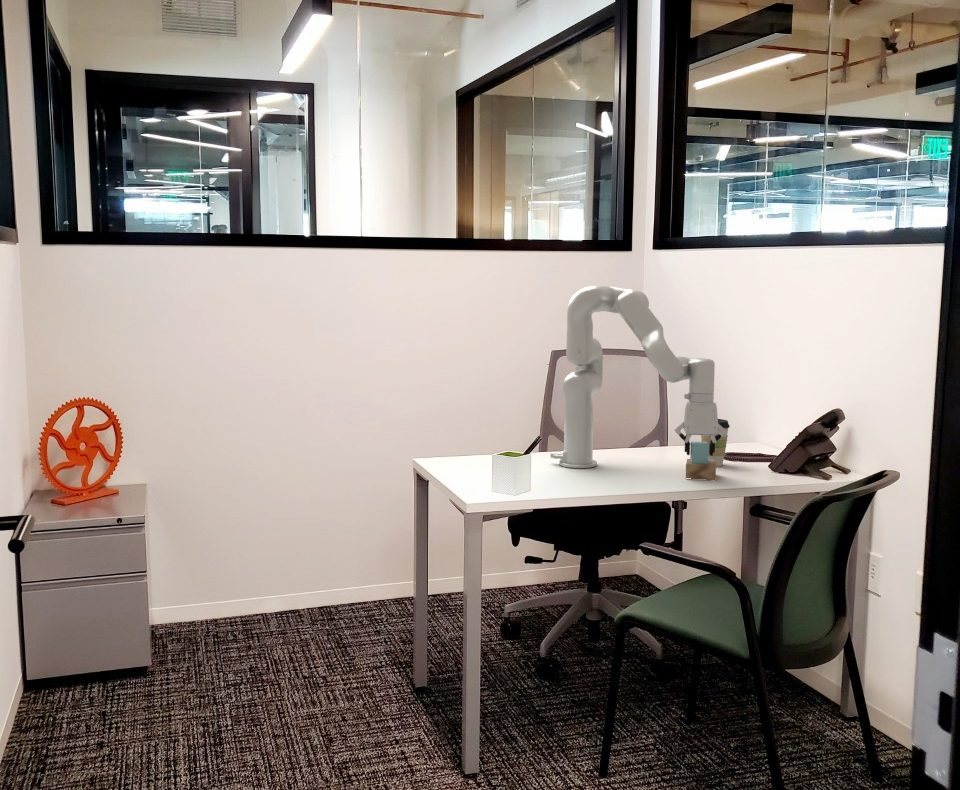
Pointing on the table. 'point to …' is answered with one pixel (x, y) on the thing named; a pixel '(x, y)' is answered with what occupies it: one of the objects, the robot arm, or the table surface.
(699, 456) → the teal block
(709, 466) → the walnut box
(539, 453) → the table surface
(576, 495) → the table surface
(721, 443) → the coffee cup
